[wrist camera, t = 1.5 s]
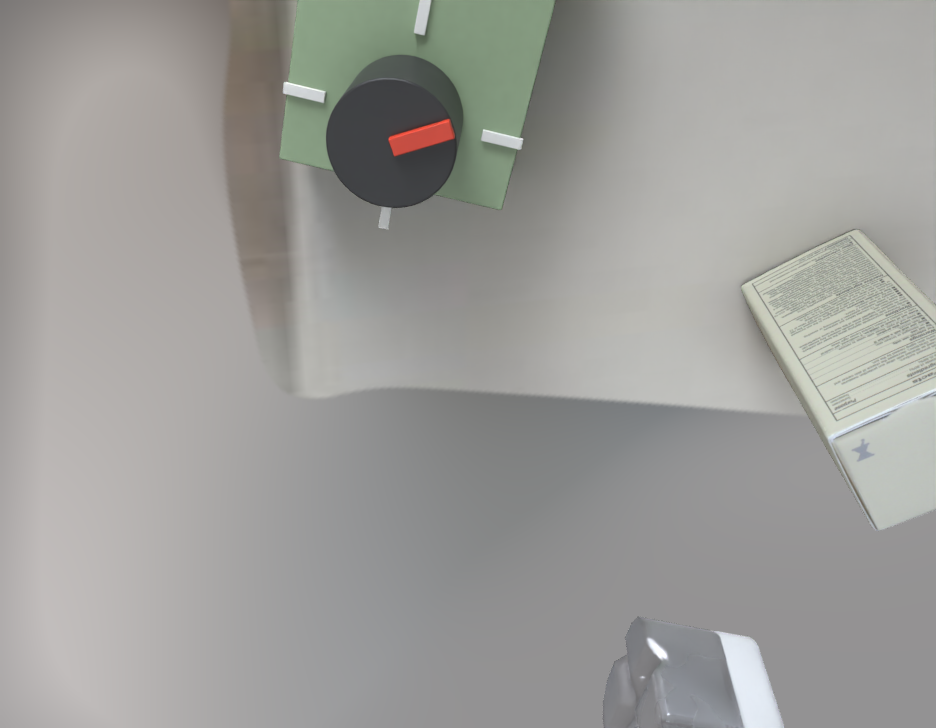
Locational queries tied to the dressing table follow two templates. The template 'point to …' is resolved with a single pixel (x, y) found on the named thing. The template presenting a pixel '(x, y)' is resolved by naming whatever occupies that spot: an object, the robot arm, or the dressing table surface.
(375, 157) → the dimmer knob
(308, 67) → the dimmer panel
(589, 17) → the dressing table surface
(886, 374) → the box
